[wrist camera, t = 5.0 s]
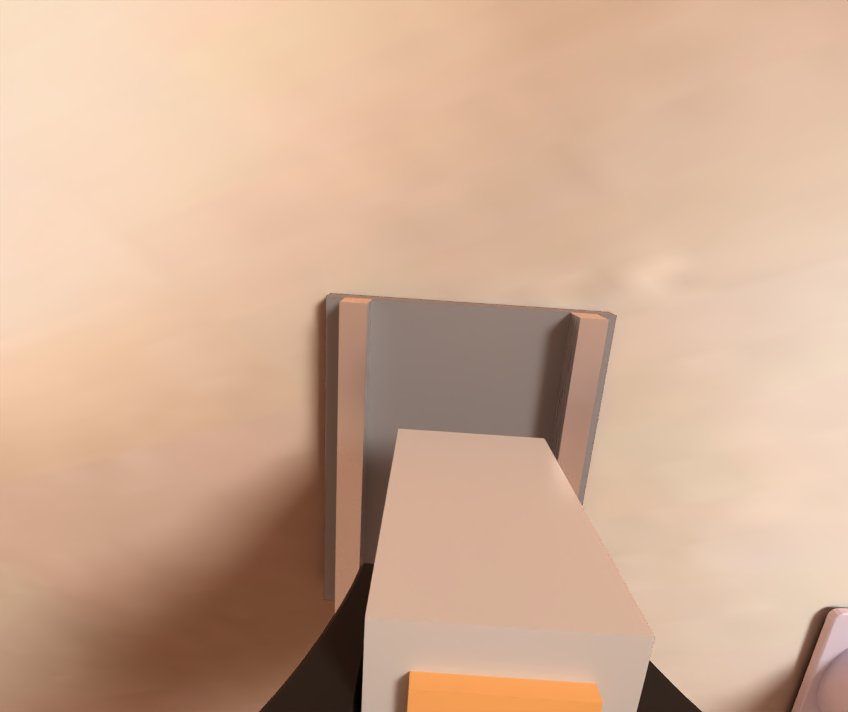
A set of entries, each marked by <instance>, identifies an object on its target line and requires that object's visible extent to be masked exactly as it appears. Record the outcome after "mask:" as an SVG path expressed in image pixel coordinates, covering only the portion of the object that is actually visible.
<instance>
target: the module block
mask: <svg viewBox="0 0 848 712" xmlns="http://www.w3.org/2000/svg"><path fill="white" fill-rule="evenodd" d="M654 640H655V636H654V634H653V632H652V630H651V629H650V627H649V625H648V623H647V621H646V620H645V618H644V616H643V614H642V612H641V611H640V609H639V607H638V605H637V603H636V602H635V600H634V598H633V596H632V594H631V593H630V591H629V589H628V587H627V586H626V584H625V582H624V580H623V578H622V577H621V575H620V573H619V571H618V569H617V568H616V566H615V564H614V562H613V560H612V559H611V557H610V555H609V553H608V551H607V550H606V548H605V546H604V544H603V543H602V541H601V539H600V537H599V535H598V534H597V532H596V530H595V528H594V526H593V525H592V523H591V521H590V519H589V517H588V516H587V514H586V512H585V510H584V508H583V507H582V505H581V503H580V501H579V500H578V498H577V496H576V494H575V492H574V491H573V489H572V487H571V485H570V483H569V482H568V480H567V478H566V476H565V474H564V473H563V471H562V469H561V467H560V465H559V464H558V462H557V460H556V458H555V457H554V455H553V453H552V451H551V449H550V448H549V446H548V444H547V442H546V440H545V439H544V438H531V437H516V436H501V435H486V434H472V433H457V432H442V431H427V430H412V429H398V433H397V439H396V445H395V450H394V456H393V462H392V467H391V473H390V479H389V484H388V490H387V495H386V501H385V507H384V512H383V518H382V524H381V529H380V535H379V541H378V546H377V552H376V558H375V563H374V569H373V575H372V580H371V586H370V592H369V597H368V603H367V609H366V614H365V630H364V657H363V684H362V711H361V712H637V708H638V704H639V700H640V696H641V692H642V688H643V684H644V680H645V676H646V672H647V668H648V664H649V660H650V656H651V652H652V648H653V644H654Z"/></svg>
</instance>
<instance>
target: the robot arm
mask: <svg viewBox="0 0 848 712" xmlns="http://www.w3.org/2000/svg"><path fill="white" fill-rule="evenodd" d="M373 569H374V564H371V563H364V564H363V565H361V566H360V568H359V570H358V573H357V575H356V577H355V579H354V581H353V583H352V585H351V587H350V589H349V591H348V593H347V594H346V596H345V598H344V600H343V601H342V603H341V605H340V606H339V608H338V609H337V611H336V613H335V614H334V616H333V617H332V619H331V621H330V622H329V624H328V625H327V627H326V628H325V630H324V631H323V633H322V634H321V636H320V637H319V638H318V640H317V641H316V643H315V644H314V645H313V647H312V648H311V650H310V651H309V652H308V654H307V655H306V657H305V658H304V659H303V661H302V662H301V663H300V664H299V666H298V667H297V668H296V670H295V671H294V672H293V673H292V675H291V676H290V677H289V678H288V679H287V681H286V682H285V683H284V684H283V685H282V687H281V688H280V689H279V690H278V691H277V692H276V694H275V695H274V696H273V697H272V698H271V699H270V700H269V701H268V702H267V704H266V705H265V706H264V707H263V708H262V709H261V710H260V711H259V712H361V711H362V684H363V657H364V630H365V614H366V609H367V603H368V597H369V592H370V586H371V580H372V575H373ZM637 712H702V711H701V710H699V709H698V708H697V707H696V706H695V705H694V704H693V703H692V702H691V701H690V700H689V699H687V698H686V697H685V696H684V695H683V694H682V693H681V692H680V691H679V690H678V689H677V688H676V687H675V686H674V685H673V684H672V683H671V682H670V681H669V680H668V679H667V678H666V677H665V676H664V675H663V674H662V673H661V672H660V671H659V670H658V669H657V668H656V667H655V666H654V665H653V663H652V662H651V661H650V660H649V664H648V668H647V672H646V676H645V680H644V684H643V688H642V692H641V696H640V700H639V704H638V708H637ZM791 712H848V608H835V609H833V610H831V611H830V612H829V613H828V615H827V617H826V620H825V623H824V625H823V628H822V631H821V633H820V636H819V639H818V641H817V644H816V647H815V650H814V652H813V655H812V658H811V660H810V663H809V666H808V668H807V671H806V674H805V676H804V679H803V682H802V684H801V687H800V690H799V692H798V695H797V698H796V701H795V703H794V706H793V709H792V711H791Z"/></svg>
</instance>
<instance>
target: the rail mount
mask: <svg viewBox="0 0 848 712" xmlns="http://www.w3.org/2000/svg"><path fill="white" fill-rule="evenodd" d="M616 317H617V315H614V314H612V313H610V312H601V311H587V310H572V309H557V308H542V307H527V306H512V305H497V304H483V303H468V302H453V301H438V300H423V299H408V298H393V297H379V296H364V295H349V294H334V293H330V294H329V295H327V296H326V371H325V513H324V600H335V613H336V611H337V609H338V608H339V606H340V605H341V603H342V601H343V600H344V598H345V596H346V594H347V593H348V591H349V589H350V587H351V585H352V583H353V581H354V579H355V577H356V575H357V573H358V570H359V568H360V566H361V565H363V564H364V563H371V564H374V563H375V558H376V552H377V546H378V541H379V535H380V529H381V524H382V518H383V512H384V507H385V501H386V495H387V490H388V484H389V479H390V473H391V467H392V462H393V456H394V450H395V445H396V439H397V433H398V429H412V430H427V431H442V432H457V433H472V434H486V435H501V436H516V437H531V438H544V439H545V440H546V442H547V444H548V446H549V448H550V449H551V451H552V453H553V455H554V457H555V458H556V460H557V462H558V464H559V465H560V467H561V469H562V471H563V473H564V474H565V476H566V478H567V480H568V482H569V483H570V485H571V487H572V489H573V491H574V492H575V494H576V496H577V498H578V500H579V501H580V503H581V505H583V500H584V494H585V488H586V483H587V477H588V472H589V466H590V461H591V455H592V450H593V444H594V439H595V433H596V427H597V422H598V416H599V411H600V405H601V400H602V394H603V389H604V383H605V378H606V372H607V366H608V361H609V355H610V350H611V344H612V339H613V333H614V328H615V322H616Z"/></svg>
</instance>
